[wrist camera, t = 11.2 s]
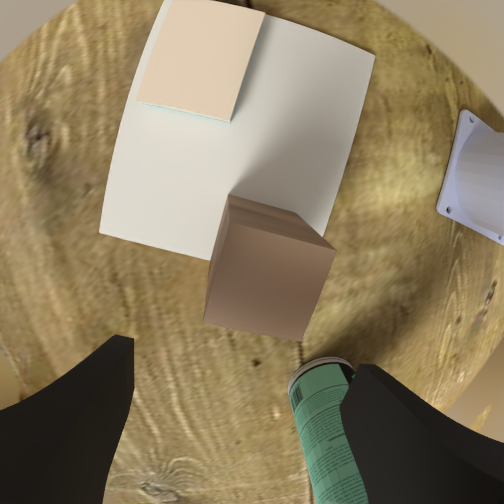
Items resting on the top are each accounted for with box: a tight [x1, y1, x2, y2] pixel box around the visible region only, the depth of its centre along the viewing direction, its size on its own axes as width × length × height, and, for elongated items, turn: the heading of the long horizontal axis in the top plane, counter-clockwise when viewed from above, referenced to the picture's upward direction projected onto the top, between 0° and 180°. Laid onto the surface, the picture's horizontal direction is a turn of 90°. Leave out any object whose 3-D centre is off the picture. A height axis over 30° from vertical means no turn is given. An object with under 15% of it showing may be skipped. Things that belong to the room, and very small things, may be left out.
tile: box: [136, 0, 265, 123], centre depth 14 cm, size 5×2×6 cm
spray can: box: [288, 357, 369, 504], centre depth 13 cm, size 6×6×20 cm
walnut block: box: [203, 194, 337, 342], centre depth 15 cm, size 4×4×7 cm
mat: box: [99, 0, 375, 260], centre depth 16 cm, size 13×15×1 cm
